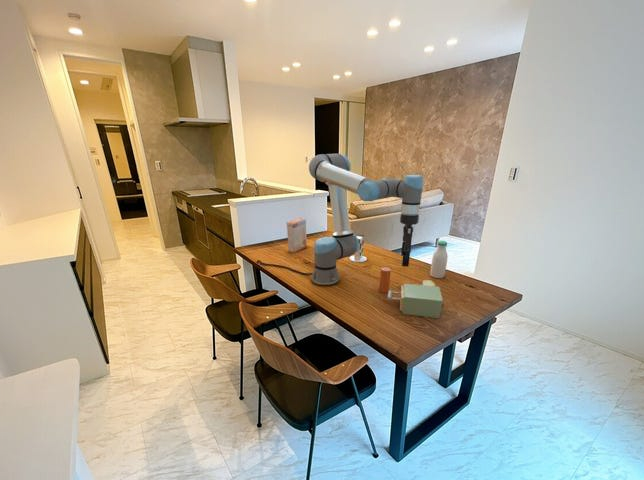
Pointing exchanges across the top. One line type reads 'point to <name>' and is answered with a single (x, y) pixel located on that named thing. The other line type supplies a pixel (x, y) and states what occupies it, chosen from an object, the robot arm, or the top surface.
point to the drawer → (398, 298)
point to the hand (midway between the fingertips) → (404, 260)
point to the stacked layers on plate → (428, 283)
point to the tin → (384, 279)
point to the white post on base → (359, 251)
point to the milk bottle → (439, 261)
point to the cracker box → (296, 235)
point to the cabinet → (422, 300)
